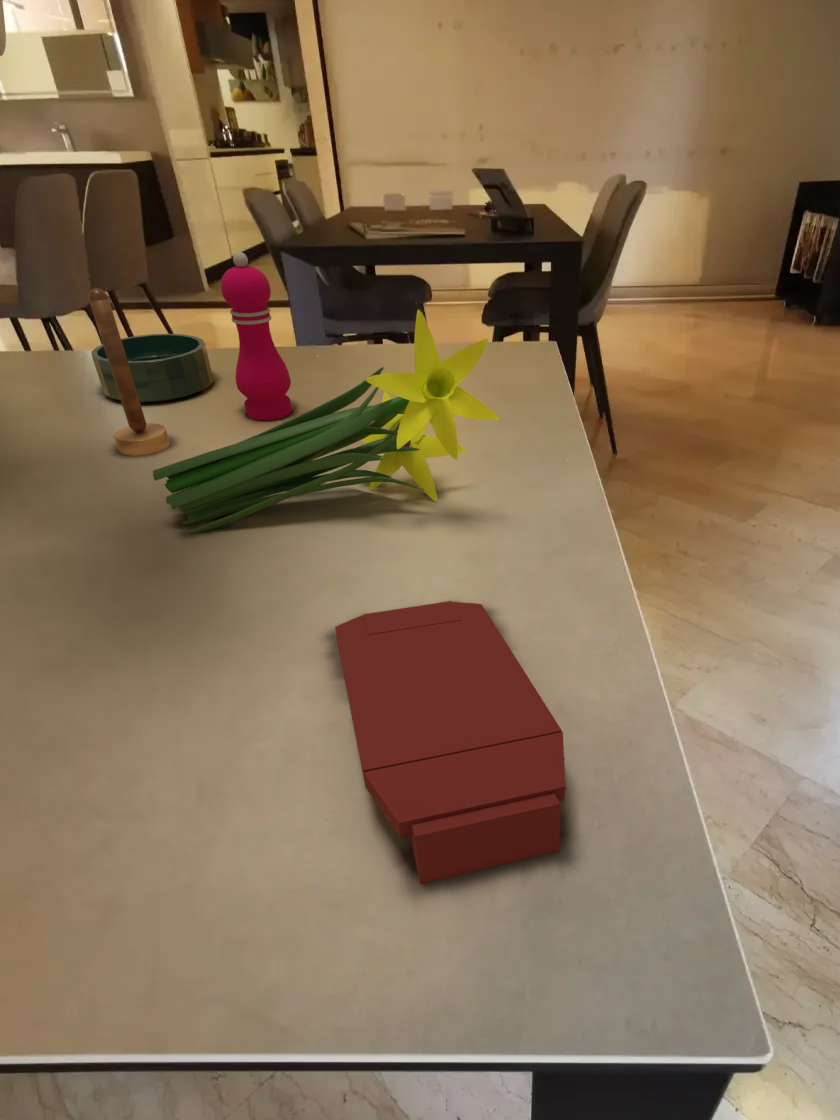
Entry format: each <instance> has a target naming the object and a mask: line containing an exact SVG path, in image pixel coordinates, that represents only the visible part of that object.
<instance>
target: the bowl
mask: <svg viewBox="0 0 840 1120" xmlns="http://www.w3.org/2000/svg"><path fill="white" fill-rule="evenodd" d="M121 341H122V344H123V347H124V351H125V354H126V357H127V361H128V364H129V367H130V371H131V374H132V377H133V381H134V384H135V387H136V391H137V394H138V397H139V401H140V403H160V402H168V401H173V400H174V401H175V400H179V399H182V398H187V397H189V396H192V395H194V394H196V393H198V392H202V391H204V390H205V389H208V387H210V386H211V385H212V384H213V382H214V376H213V372H212V368H211V363H210V358H209V353H208V350H207V347H206V343H205V341H204V339H202V338H200V337H198V336H194V335H189V334H184V333H183V334H182V333H151V334H142V335H141V334H140V335H134V336H128V337H123V338H122V337H121ZM91 358H92V362H93V364H94V367H95V370H96V373H97V376H98V379H99V383H100V385H101V388H102V391H103V394H104V395H105V396H107V397H109V398H111V399H114V400H118V401H121V399H120V396H119V393H118V390H117V387H116V384H115V381H114V377H113V374H112V371H111V368H110V365H109V362H108V358H107V355H106V352H105V349H104V346H103V344H100V345H98V346H96V347H95V348H94V349H92V350H91Z"/></svg>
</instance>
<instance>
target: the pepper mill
mask: <svg viewBox="0 0 840 1120" xmlns="http://www.w3.org/2000/svg"><path fill="white" fill-rule="evenodd" d="M232 259H233V260H232V261H233V264H234V266H233V267H230V268H228V269H227V270H226V271H225V272H224V273H223V275H222V276H221V281H220V290H221V294H222V297H223V299H224V300H225V302H226V303H227V304H229V306H230V307H231V309H230V310H229V313H230V315H231V322H232V323H234V324H235V326H236V330H237V334H238V344H239V347H238V348H239V349H238V357H237V362H236V367H235V384H236V387H237V390H238V391H239V392H240V394H242V395H243V396H244V397H245V398H246V399H245V400H244V402H243V404H244V408H245V409H244V410H245V414H246V416H247V417H248V418H249V419H253V420H256V421H273V420H279V419H282V418H286V417H287V416H289V415H291V413H293V412H292V411H293V408H292V402H291V397H289V396H288V395H287V393H288V391H289V390H290V388H291V384H292V381H291V377H290V373H289V370H288V367H287V365H286V363H285V361H284V359H283V358H282V356H281V355H280V353H279V351H278V349H277V348H276V345H275V342H274V340H273V336H272V334H271V329H270V321H271V320H272V316H271V313H270V312H271V308H270V307H268V306H267V304H268V302H269V301H270V299H271V296H272V295H271V294H272V291H271V290H272V289H271V284H270V281H269V280H268V278H267V276H266V275H265V273H264V272H263V271H261V270H260V269H258V268H257V267H254V266H250V265H248V264H249V259H248V257H247V254H245V253H244V252H242V251H237V252H234V254H233V255H232Z"/></svg>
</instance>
